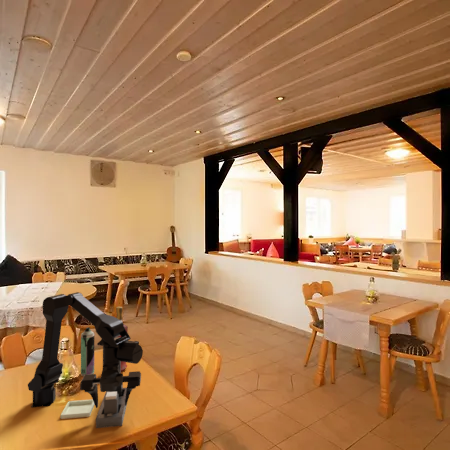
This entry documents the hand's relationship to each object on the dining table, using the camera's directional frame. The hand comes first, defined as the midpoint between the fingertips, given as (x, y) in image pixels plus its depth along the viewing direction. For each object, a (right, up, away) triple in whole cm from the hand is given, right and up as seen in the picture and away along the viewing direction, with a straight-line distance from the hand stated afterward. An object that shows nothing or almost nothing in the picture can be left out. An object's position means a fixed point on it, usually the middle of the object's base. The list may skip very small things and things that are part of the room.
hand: (111, 406), depth 114 cm
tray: (-13, -5, +5) cm, 15 cm away
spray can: (-22, -5, +36) cm, 42 cm away
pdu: (-1, -5, +5) cm, 7 cm away
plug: (0, -4, 0) cm, 4 cm away
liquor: (-10, -5, +40) cm, 41 cm away
